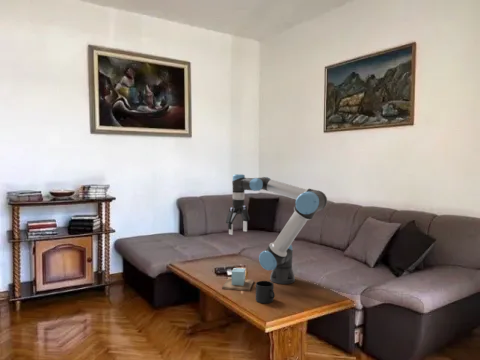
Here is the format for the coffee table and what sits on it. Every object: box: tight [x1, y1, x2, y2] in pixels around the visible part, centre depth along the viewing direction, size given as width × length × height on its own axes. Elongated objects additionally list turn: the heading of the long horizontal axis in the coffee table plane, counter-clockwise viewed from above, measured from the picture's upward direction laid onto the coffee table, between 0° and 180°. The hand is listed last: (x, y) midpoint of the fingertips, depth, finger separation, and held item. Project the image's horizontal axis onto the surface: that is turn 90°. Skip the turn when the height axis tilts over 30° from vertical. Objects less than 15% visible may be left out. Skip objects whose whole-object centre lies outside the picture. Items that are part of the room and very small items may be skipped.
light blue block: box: [231, 267, 246, 286], centre depth 221 cm, size 7×7×9 cm
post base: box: [221, 277, 255, 292], centre depth 221 cm, size 16×16×7 cm
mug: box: [255, 280, 276, 304], centre depth 197 cm, size 9×12×9 cm
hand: (238, 233), depth 233 cm, fingers open, 13 cm apart
